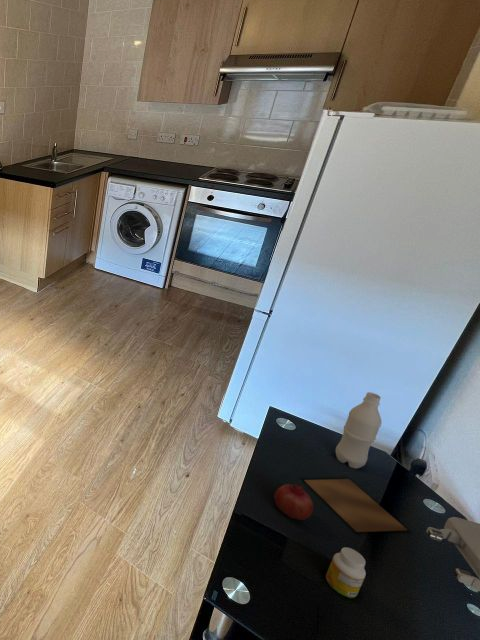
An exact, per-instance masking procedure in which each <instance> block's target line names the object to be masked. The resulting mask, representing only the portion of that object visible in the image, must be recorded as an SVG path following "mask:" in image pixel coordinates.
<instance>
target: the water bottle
mask: <svg viewBox="0 0 480 640" xmlns="http://www.w3.org/2000/svg"><path fill="white" fill-rule="evenodd" d="M362 400H363V401H362V402H361V403H359V404H358V405H356V406H354V407H353V408H351V409H350V410H349V412H348V416H347V419H346V422H345V424H344V426H343V433H342V436H341V439H340V441H339V442H338V444H336V447H335V451H334V452H335V456H336V457H335V458H336V459H337V460H338V461H339V463H341V464H346V463H348V467H350V468H352V469H360V468H363V467H364V466H366V464H367V461H368V459H369V450H370V448H371V446H372V444H373V443H374V442H375V440H376V437H377V435H378V432H379V430H380V427H382V418H381V415H380V411H379V406H380V404H381V402H380V401H381V396H380V395H379V394H377V393H374V392H366V394H365V396H364V397H363V399H362Z"/></svg>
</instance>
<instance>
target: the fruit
mask: <svg viewBox="0 0 480 640" xmlns="http://www.w3.org/2000/svg"><path fill="white" fill-rule="evenodd" d="M273 498H274V501H275V505H276V507H277V508H278V510H280V511H281V512H282V513H283V514H284V515H286V516H288V517H289V518H291V519H293V520H294V519H295V520H299V521H304V520H307V519H308V518H310V517H311V516H312V514H313V511H314V502H313V500H312V498H311V496H310V494H309V493H307V492H306V490H304V488H303V485H301V484H299V483H293V484H289V483H285V484H283V485H281V486H280V487H278V488H277V489H276V491H275V493H274V495H273Z"/></svg>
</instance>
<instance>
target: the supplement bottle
mask: <svg viewBox="0 0 480 640" xmlns="http://www.w3.org/2000/svg"><path fill="white" fill-rule="evenodd" d="M366 562H367V561H366V559H365V558H364V556H363V555H362V554H361V553H360V552H358V551H357V550H355V549H353V548H351V547H342V548H341V550H340V551H339V552H336V553H334V555H333V557H332V559H331V562H330V564H329V566H328V569H327V572H326V574H325V579H326V582H327V583H328V585H329V587H331V588H332V589H333V590H334V591H336V592H337V593H338V594H340V595H341V596H344V597H346V598H348V599H353V598H356V597H357V596H358V595H359V592H360V590H361V587H362V585H363V583H364V581H365V578H366V574H367V572H366V569H365V567H366Z"/></svg>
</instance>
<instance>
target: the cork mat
mask: <svg viewBox="0 0 480 640" xmlns="http://www.w3.org/2000/svg"><path fill="white" fill-rule="evenodd" d="M303 481H304V482H305V484H307V486H309V487H310V489H312V490H313V492H314V493H316V494H317V495H318V496H319V498H321V499H322V500H323V501H324V502H325V503H326V504H327V505H328V506H329V507H330V508H331V509H332V510H333V511H334V512H335V513H336V514H337V515H338V516H339V517H340V518H341V519H342V520H343V521H344V522H345V523H346V524H347V525H348V526H349V527H351V529H353V531H354V532H355V533H376V532H377V533H379V532H381V533H382V532H407V531H408V529H407V528H406V527H405V526H404V525H403V524H402V523H400V521H398V520H397V519H396V518H395V517H394V516H393V515H391V513H389V512H388V511H387V510H385V508H383V507H382V506H381V505H380V504H379V503H377V502H376V501H375V500H374V499H373V498H372V497H371V496H369V495H368V494H367V493H366V492H365V491H364V490H363V489H361V488H360V487H359V486H358V485H357V484H356V483H354V482H353V481H352V480H351V478H329V479H326V478H325V479H304V480H303Z"/></svg>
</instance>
